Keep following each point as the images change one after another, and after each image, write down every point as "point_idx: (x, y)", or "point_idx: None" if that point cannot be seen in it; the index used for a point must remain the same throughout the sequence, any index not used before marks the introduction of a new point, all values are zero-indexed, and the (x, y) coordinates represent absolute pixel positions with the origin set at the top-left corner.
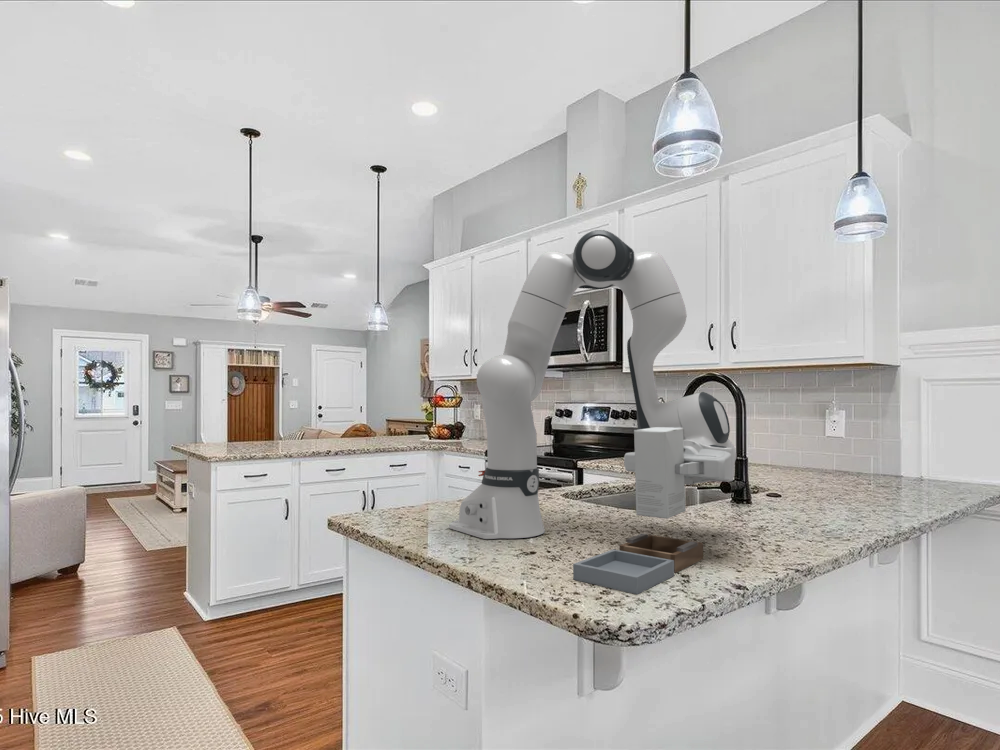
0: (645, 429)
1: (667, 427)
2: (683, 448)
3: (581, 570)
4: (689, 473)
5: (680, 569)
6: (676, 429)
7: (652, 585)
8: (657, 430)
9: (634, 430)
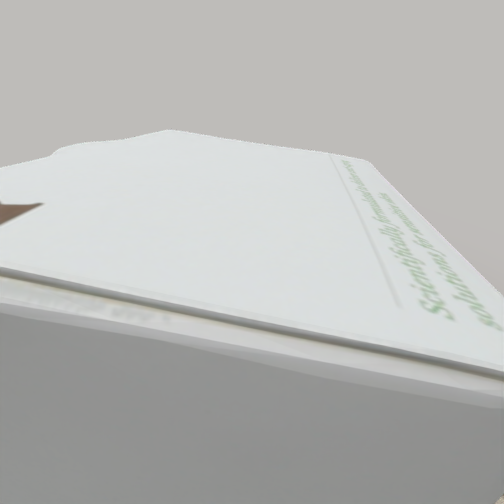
0: (316, 157)
1: (161, 253)
2: None
3: None
4: None
5: None
6: (55, 155)
7: None
8: (218, 139)
9: (363, 160)
